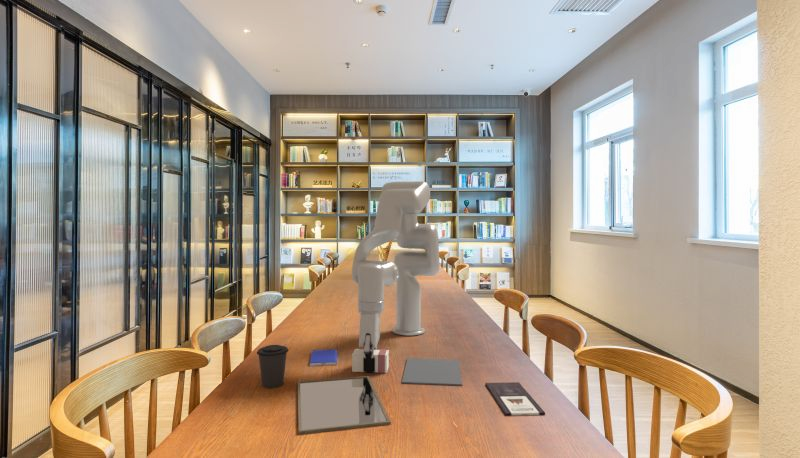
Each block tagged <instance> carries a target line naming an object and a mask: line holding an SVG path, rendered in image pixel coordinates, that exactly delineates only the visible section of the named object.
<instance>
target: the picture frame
mask: <svg viewBox="0 0 800 458" xmlns="http://www.w3.org/2000/svg"><path fill="white" fill-rule="evenodd" d="M297 415H298V416H297V417H298V421H297V422H298V435H308V434H317V433H326V432H335V431H342V430H343V431H344V430H352V429H353V430H354V429H359V428H360V429H361V428H369V427H371V428H372V427H378V426H379V427H380V426H389V425H392V424H391V420H390V417H389V415H388V413H387V410H386V409H385V407H384V405H383V403H382V401H381V398H380V397H379V394H378V393H377V390H376V388H375V386H374V384H373V382H372V379H371V378H370V375H365V376H364V375H363V376H352V377H351V376H350V377H337V378H327V379H326V378H324V379H312V380H301V381H300V380H299V381H297Z"/></svg>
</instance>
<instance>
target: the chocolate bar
mask: <svg viewBox="0 0 800 458" xmlns="http://www.w3.org/2000/svg"><path fill="white" fill-rule="evenodd" d="M485 387H486V388H487V390H488V389H489V390H488V391H489V392H491V393H490V394H491V396H492V397H493V398H494V400H495V402H496V403H497V405H498V406H499V408H500V409H501V410H502V412H503V414H504V415H505V416H506V417H507V416H508V417H509V416H510V417H511V416H513V417H514V416H545V415H546V412H545V411H544V410H543V409H542V407H541V406H540V404H538V402H537V401H536V400H535V399H534V398H533V396H531V395H530V393H529V392H528V391H527V390H526V389H525V388H524V386H523V385H522V384H521V383H520V382H519V381H518V382H516V381H515V382H485Z"/></svg>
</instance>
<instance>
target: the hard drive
mask: <svg viewBox="0 0 800 458" xmlns="http://www.w3.org/2000/svg"><path fill="white" fill-rule="evenodd" d="M335 365H336V366H337V365H338V349H336V348H333V349H332V348H331V349H313V350H312V351H311V355H310V362H309V366H310V367H312V366H313V367H314V366H315V367H316V366H335Z"/></svg>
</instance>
